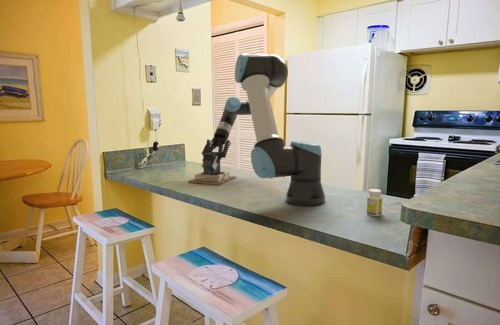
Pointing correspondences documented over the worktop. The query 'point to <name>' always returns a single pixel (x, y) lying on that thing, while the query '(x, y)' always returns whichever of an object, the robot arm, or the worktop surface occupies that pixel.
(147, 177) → the worktop surface
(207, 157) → the box
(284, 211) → the worktop surface
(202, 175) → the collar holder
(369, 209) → the supplement bottle
